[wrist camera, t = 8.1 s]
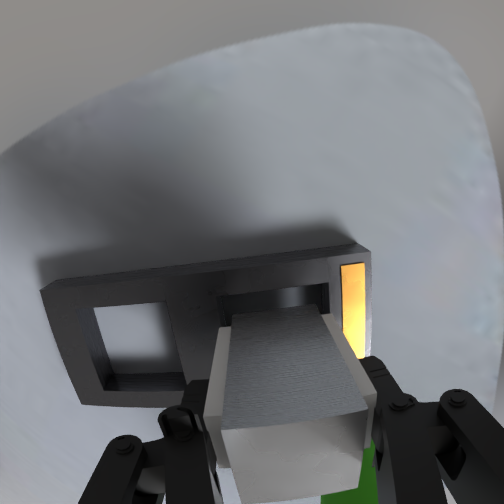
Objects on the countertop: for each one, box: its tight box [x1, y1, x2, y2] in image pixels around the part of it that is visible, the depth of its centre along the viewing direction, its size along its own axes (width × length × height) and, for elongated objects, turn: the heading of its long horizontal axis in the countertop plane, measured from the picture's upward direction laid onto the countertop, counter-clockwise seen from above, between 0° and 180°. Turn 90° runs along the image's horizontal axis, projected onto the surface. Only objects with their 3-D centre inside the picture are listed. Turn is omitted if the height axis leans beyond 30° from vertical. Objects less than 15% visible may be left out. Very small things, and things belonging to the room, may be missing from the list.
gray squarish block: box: [221, 304, 369, 504], centre depth 12 cm, size 4×4×8 cm
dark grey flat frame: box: [40, 243, 372, 408], centre depth 17 cm, size 18×8×2 cm, turn 97°
